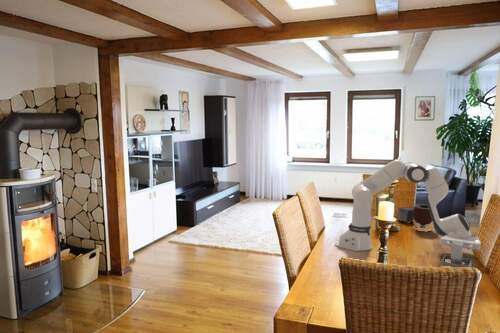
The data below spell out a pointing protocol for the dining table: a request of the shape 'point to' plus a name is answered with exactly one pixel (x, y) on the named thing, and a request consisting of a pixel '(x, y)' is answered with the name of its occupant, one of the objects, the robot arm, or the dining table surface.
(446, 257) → the tray
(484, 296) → the dining table surface
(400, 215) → the small box
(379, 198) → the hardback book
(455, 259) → the metal block
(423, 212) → the mate gourd
